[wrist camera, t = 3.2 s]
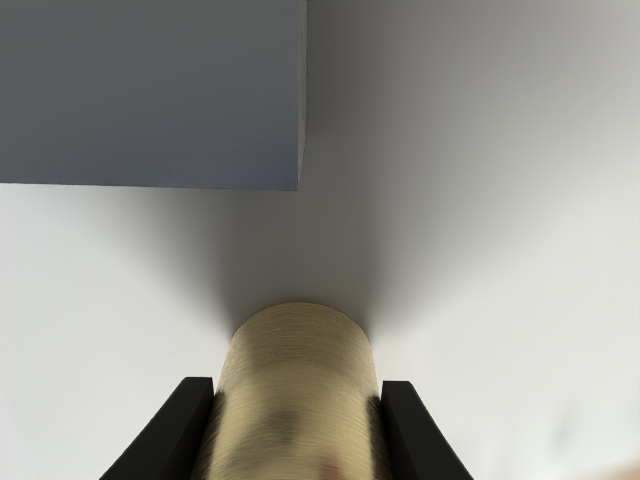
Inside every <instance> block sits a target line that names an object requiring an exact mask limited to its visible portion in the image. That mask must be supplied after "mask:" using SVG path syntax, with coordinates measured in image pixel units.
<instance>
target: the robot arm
mask: <svg viewBox="0 0 640 480" xmlns="http://www.w3.org/2000/svg"><path fill="white" fill-rule="evenodd" d="M213 400H214V390H213V381H212V377H186V378H184V379H183V380H182V381H181V383H180V384H179V385H178V386H177V388H176V389H175V390H174V392H173V393H172V394H171V395H170V397H169V398H168V399H167V401H166V402H165V403H164V404H163V406H162V407H161V408H160V409H159V411H158V412H157V413H156V414H155V416H154V417H153V418H152V419H151V420H150V422H149V423H148V424H147V425H146V427H145V428H144V429H143V430H142V431H141V433H140V434H139V435H138V436H137V437H136V438H135V439H134V441H133V442H132V443H131V444H130V445H129V446H128V448H127V449H126V450H125V451H124V452H123V453H122V455H121V456H120V457H119V458H118V459H117V460H116V461H115V463H114V464H113V465H112V466H111V467H110V468H109V469H108V470H107V471H106V472H105V473H104V474H103V476H102V477H101V478H100V479H99V480H190V476H191V473H192V470H193V466H194V463H195V460H196V456H197V453H198V450H199V446H200V443H201V440H202V436H203V433H204V430H205V426H206V423H207V420H208V416H209V413H210V410H211V406H212V403H213ZM381 407H382V413H383V419H384V425H385V431H386V437H387V442H388V448H389V454H390V460H391V466H392V472H393V477H394V480H474V479H473V478H472V476H471V475H470V474H469V472H468V471H467V470H466V468H465V467H464V465H463V464H462V462H461V461H460V459H459V458H458V457H457V455H456V454H455V452H454V451H453V449H452V448H451V446H450V445H449V444H448V442H447V441H446V439H445V437H444V436H443V434H442V433H441V431H440V430H439V428H438V427H437V425H436V424H435V422H434V420H433V419H432V417H431V416H430V414H429V412H428V411H427V409H426V407H425V406H424V404H423V402H422V401H421V399H420V397H419V395H418V394H417V392H416V390H415V388H414V387H413V385H412V384H411V383H410V382H409V381H383V386H382V394H381Z"/></svg>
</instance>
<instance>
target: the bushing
mask: <svg viewBox="0 0 640 480" xmlns="http://www.w3.org/2000/svg"><path fill="white" fill-rule="evenodd" d="M190 480H394V477H393V472H392V466H391V460H390V454H389V448H388V442H387V437H386V431H385V425H384V419H383V413H382V407H381V402H380V396H379V390H378V384H377V378H376V372H375V367H374V361H373V355H372V349H371V346H370V343H369V341H368V339H367V337H366V335H365V333H364V332H363V331H362V329H361V328H360V327H359V326H358V325H357V324H356V323H355V322H354V321H353V320H352V319H350V318H349V317H348V316H346V315H345V314H343V313H341V312H340V311H337V310H335V309H333V308H330V307H327V306H324V305H321V304H315V303H308V302H289V303H283V304H278V305H274V306H271V307H268V308H266V309H263V310H261V311H259V312H257V313H256V314H254V315H252V316H251V317H250V318H248V319H247V320H246V321H245V322H244V323H243V324H242V325H241V326H240V327H239V328H238V330H237V331H236V332H235V334H234V336H233V338H232V340H231V343H230V346H229V349H228V353H227V356H226V359H225V363H224V366H223V370H222V373H221V376H220V380H219V383H218V386H217V390H216V393H215V396H214V400H213V403H212V406H211V410H210V413H209V416H208V420H207V423H206V426H205V430H204V433H203V436H202V440H201V443H200V446H199V450H198V453H197V456H196V460H195V463H194V466H193V470H192V473H191V476H190Z"/></svg>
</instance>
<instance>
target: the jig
mask: <svg viewBox="0 0 640 480" xmlns="http://www.w3.org/2000/svg"><path fill="white" fill-rule="evenodd" d="M306 78H307V0H0V183H22V184H60V185H99V186H137V187H175V188H213V189H252V190H290V191H298V187H299V180H300V174H301V168H302V161H303V155H304V149H305V142H306Z"/></svg>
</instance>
